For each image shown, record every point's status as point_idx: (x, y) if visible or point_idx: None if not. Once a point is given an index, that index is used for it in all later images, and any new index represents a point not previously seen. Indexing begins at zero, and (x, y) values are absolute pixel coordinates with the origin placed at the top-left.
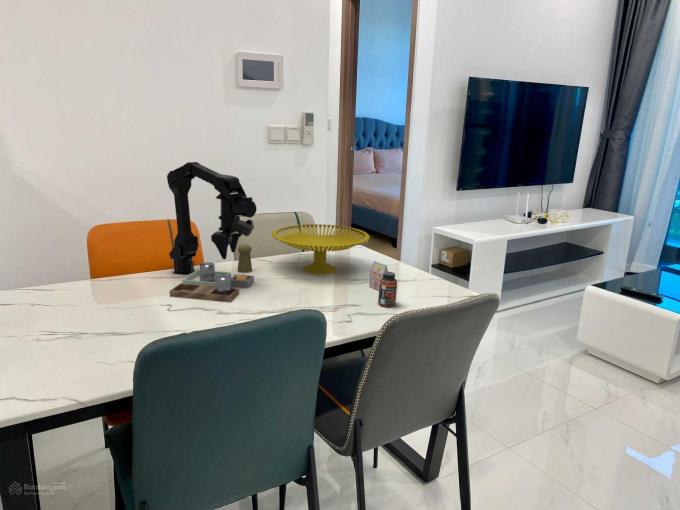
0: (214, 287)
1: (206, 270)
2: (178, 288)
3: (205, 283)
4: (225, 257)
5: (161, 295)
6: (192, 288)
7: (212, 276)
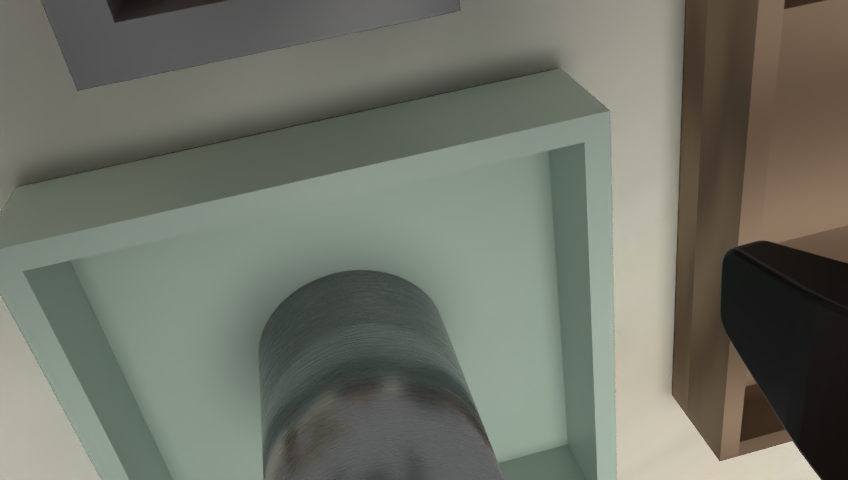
0: (804, 39)
1: (491, 449)
2: None
3: (605, 271)
4: (826, 259)
5: None
6: None
7: (391, 337)
